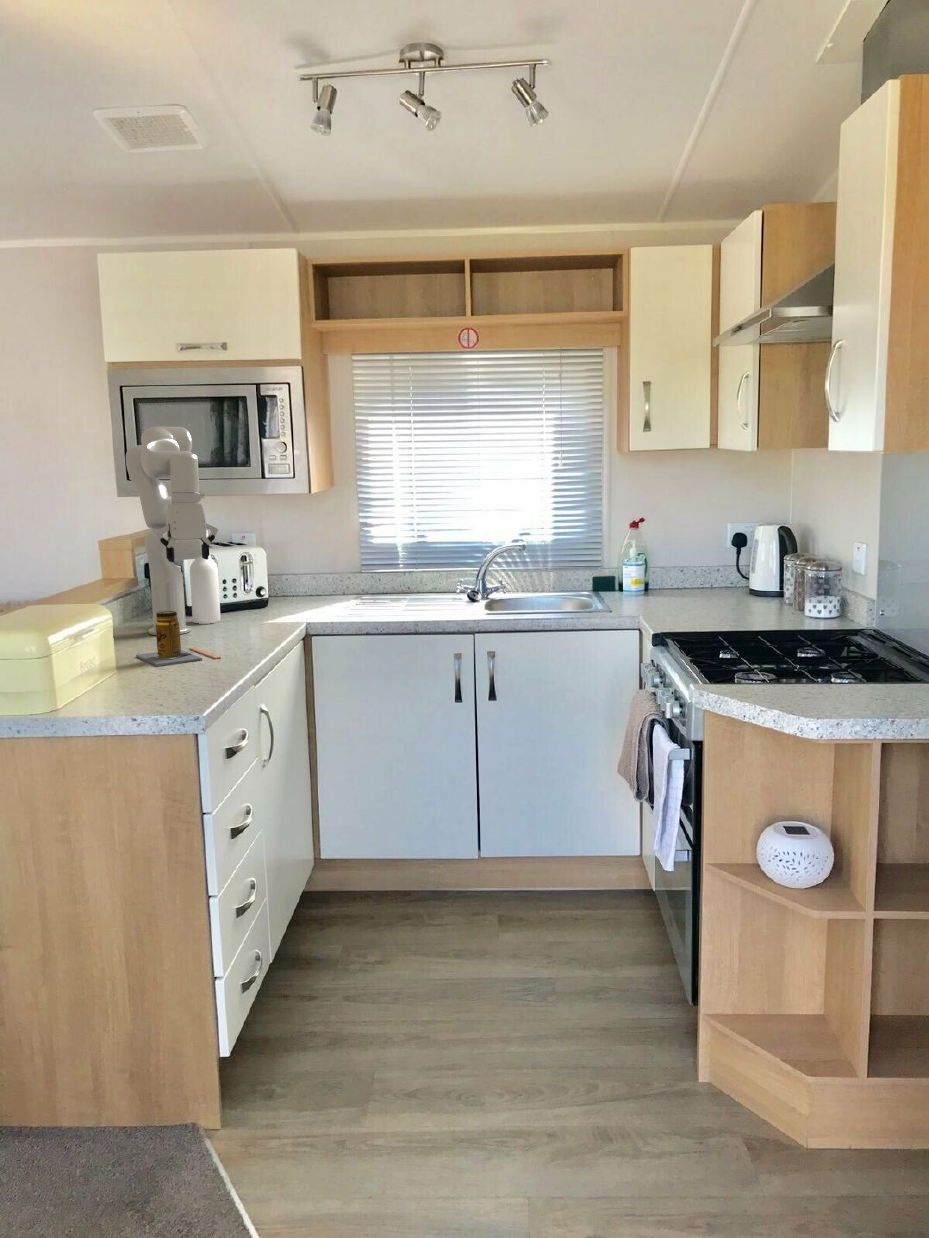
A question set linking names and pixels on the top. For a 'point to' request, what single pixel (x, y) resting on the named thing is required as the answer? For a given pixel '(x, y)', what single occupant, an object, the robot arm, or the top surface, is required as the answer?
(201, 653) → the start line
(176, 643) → the condiment
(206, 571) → the alcohol
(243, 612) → the top surface
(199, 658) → the mat
